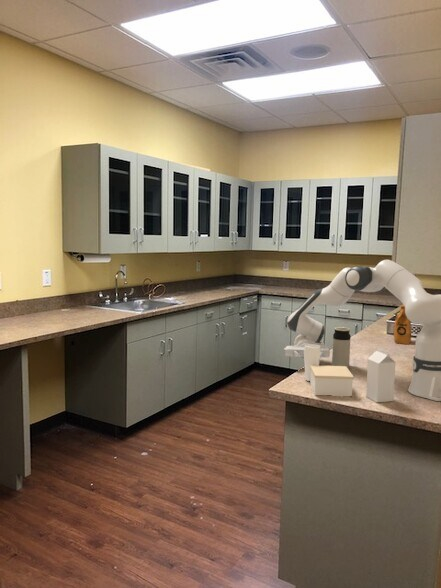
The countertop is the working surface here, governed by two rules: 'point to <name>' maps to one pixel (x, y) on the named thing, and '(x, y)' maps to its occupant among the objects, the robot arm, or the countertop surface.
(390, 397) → the milk carton
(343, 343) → the travel mug
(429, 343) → the robot arm
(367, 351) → the countertop surface
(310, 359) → the white ceramic cup
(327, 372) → the painted box
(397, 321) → the coffee package
